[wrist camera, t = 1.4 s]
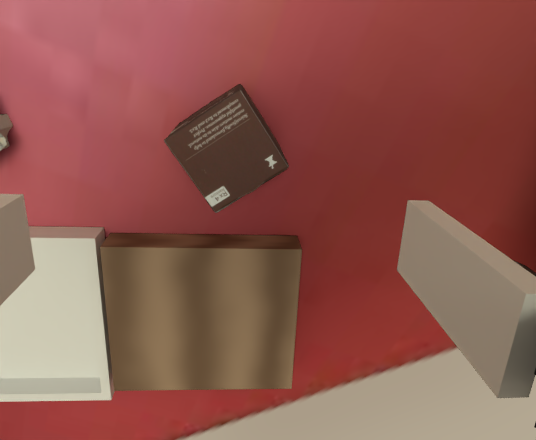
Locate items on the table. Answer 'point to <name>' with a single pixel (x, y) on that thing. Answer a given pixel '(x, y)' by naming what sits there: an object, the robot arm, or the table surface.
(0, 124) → the grey lobed frame
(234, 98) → the box
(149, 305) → the wooden board
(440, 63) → the table surface
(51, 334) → the bin
